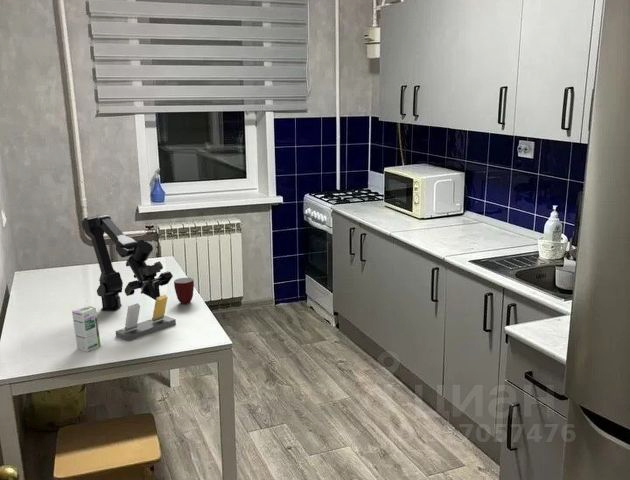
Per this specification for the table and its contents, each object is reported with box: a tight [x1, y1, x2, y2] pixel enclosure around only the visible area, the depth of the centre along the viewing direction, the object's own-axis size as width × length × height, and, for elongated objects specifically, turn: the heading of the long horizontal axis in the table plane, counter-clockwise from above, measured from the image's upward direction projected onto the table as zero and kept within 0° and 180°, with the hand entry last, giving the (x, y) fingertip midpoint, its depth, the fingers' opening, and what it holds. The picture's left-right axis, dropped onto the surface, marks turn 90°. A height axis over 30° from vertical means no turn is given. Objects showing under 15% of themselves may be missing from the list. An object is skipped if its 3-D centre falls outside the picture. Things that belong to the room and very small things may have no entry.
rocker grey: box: [124, 303, 141, 331], centre depth 221 cm, size 2×4×11 cm, turn 140°
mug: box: [173, 277, 195, 305], centre depth 255 cm, size 10×8×10 cm
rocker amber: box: [151, 294, 168, 322], centre depth 229 cm, size 2×4×11 cm, turn 140°
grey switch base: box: [115, 314, 177, 342], centre depth 228 cm, size 21×8×2 cm, turn 140°
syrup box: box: [71, 305, 102, 352], centre depth 212 cm, size 6×6×14 cm
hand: (159, 301), depth 228 cm, fingers closed, pressing on rocker amber
